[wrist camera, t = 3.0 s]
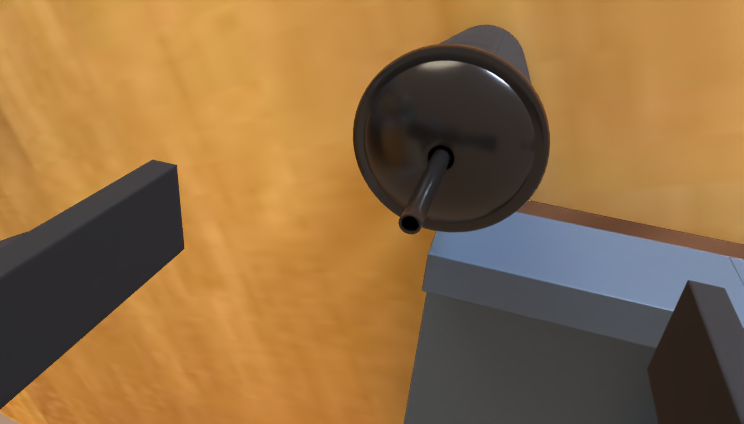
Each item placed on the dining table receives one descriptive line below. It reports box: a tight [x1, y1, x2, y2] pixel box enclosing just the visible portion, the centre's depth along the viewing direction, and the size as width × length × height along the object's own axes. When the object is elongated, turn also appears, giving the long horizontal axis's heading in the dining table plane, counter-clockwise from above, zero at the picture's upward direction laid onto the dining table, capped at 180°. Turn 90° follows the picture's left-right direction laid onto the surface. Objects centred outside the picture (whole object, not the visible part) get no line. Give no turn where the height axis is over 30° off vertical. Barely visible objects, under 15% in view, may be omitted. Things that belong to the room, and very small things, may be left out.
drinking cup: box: [353, 25, 550, 234], centre depth 24 cm, size 8×8×20 cm
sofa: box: [404, 201, 744, 424], centre depth 35 cm, size 19×24×13 cm
